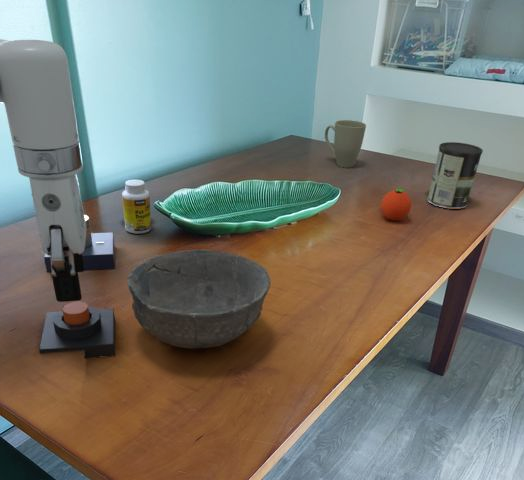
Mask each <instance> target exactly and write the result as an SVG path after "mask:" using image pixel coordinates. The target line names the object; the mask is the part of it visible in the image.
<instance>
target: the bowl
mask: <svg viewBox="0 0 524 480" xmlns="http://www.w3.org/2000/svg"><path fill="white" fill-rule="evenodd" d="M271 282H272V281H271V277H270V274H269V272H268V270H267V269H266V268H265V267H263V266H262V265H261V264H259V263H258V262H256V261H254V260H252V259H250V258H247V257H245V256H242V255H238V254H235V253H230V252H226V251H219V250H208V249H190V250H179V251H174V252H169V253H164V254H160V255H155V256H152V257H150V258H148V259H146V260H144V261H143V262H141V263H139V264H138V265H136V266H135V267H133V268H132V269H131V272H130V273H129V274H128V275H127V288H128V290H129V293H130V294H131V297H132V301H133V302H132V304H131V306H132V310H133V314H134V317H135V319H136V320H137V322H138V323H139V325H140V326H141V327H142V328H144V329H145V331H146V333H148V334H150V335H151V336H153V337H154V338H155V339H157V340H158V341H161V342H162V343H164V344H167V345H169V346H173V347H177V348H181V349H208V348H217V347H221V346H224V345H225V344H227V343H229V342H232V341H233V340H235V339H237V338H238V337H240V336H241V335H243V333H245V332H246V331H248V330H249V329H250V328H251V327H252V326H253V325H254V324H256V323H257V322H258V320H259V318H260V316H261V315H262V310H263V304H264V302H265V299H266V297H267V294H268V293H269V290H270V288H271Z"/></svg>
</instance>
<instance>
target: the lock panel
mask: <svg viewBox="0 0 524 480" xmlns="http://www.w3.org/2000/svg"><path fill="white" fill-rule="evenodd" d="M91 237H92V245H91V246H89V247H86V248H85V249H84V252H83V253H82V256H83V263H84V271H93V270H97V271H98V270H114V269H116V268H115V267H116V245H115V237H114V232H91ZM43 259H44V260H43V261H44V265H45V270H46V273H52V269H51V259H50V256H48V255H47V254H45V253H44V256H43Z"/></svg>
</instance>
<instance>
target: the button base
mask: <svg viewBox="0 0 524 480" xmlns="http://www.w3.org/2000/svg"><path fill="white" fill-rule="evenodd" d="M88 308H89V314H90V320H89V321H88V322H86V323H83V324H80V325H69V324H66V323H65V321H64V316H63V311H62V309H61V310H59V311H50V312H49V311H48V312H45V313H46V314H45V318H44V322H43V323H44V324H43V329H42V333H41V340H40V345H39V350H38V351H39V354H50V353H61V352H75V351H84V357H83V359H93V358H92V357H96V358H101V357H100V356H108V357H112V356H111V355H115V356H116V316H115V309H114V307H110V308H109V307H108V308H98V309H97V308H95V307H91V306H88Z"/></svg>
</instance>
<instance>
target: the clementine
mask: <svg viewBox="0 0 524 480" xmlns="http://www.w3.org/2000/svg"><path fill="white" fill-rule="evenodd" d="M380 203H381V204H380V210H381V213H382V214H383V216H384V217H385V218H386V219H389V220H390V219H391V220H390V221H400V220H403V219H404V218H405V217H408V214H409V213H410V211H411V208H412V200H411V197H410V195H408V194H407V192H406V191H404V189H401V188H400V189H399V188H398V189H393V190H390V191H389V192H387V193H386V194H385V195H384V196H383V198H382V200H381V202H380Z"/></svg>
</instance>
